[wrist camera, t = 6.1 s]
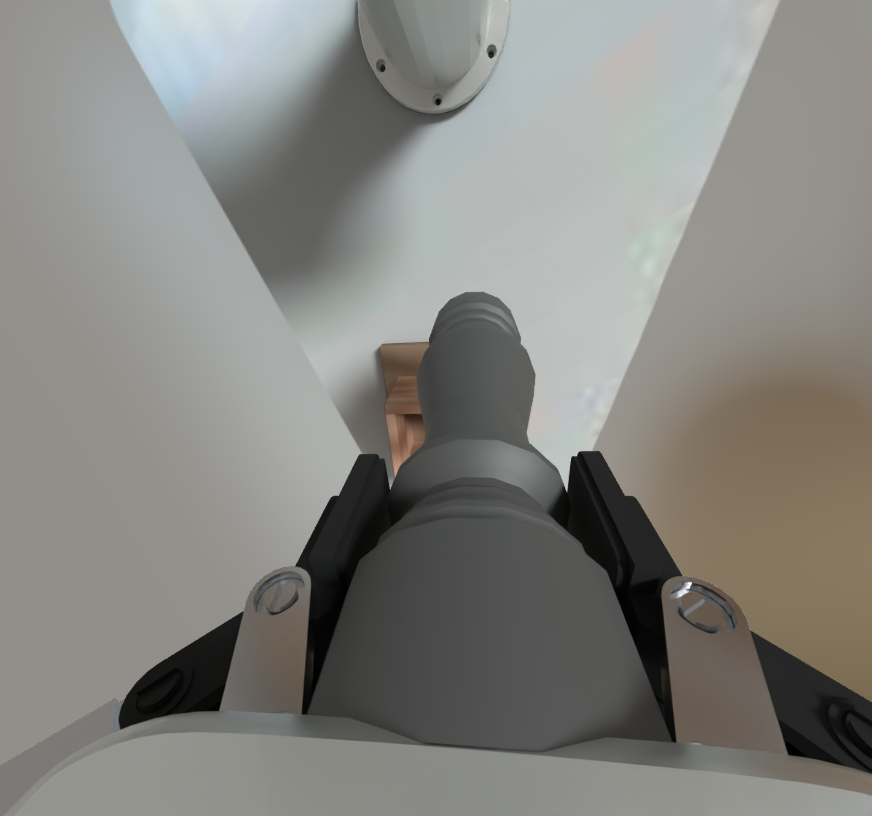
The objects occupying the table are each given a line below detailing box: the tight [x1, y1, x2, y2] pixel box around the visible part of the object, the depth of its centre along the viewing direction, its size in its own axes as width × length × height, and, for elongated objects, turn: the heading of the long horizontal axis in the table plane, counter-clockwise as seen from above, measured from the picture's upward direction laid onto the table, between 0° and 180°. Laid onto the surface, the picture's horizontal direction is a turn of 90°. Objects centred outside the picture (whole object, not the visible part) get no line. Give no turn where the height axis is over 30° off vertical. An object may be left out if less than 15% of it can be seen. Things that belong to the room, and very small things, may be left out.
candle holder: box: [307, 292, 673, 752], centre depth 16 cm, size 6×6×25 cm
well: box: [380, 342, 429, 477], centre depth 43 cm, size 18×14×10 cm
